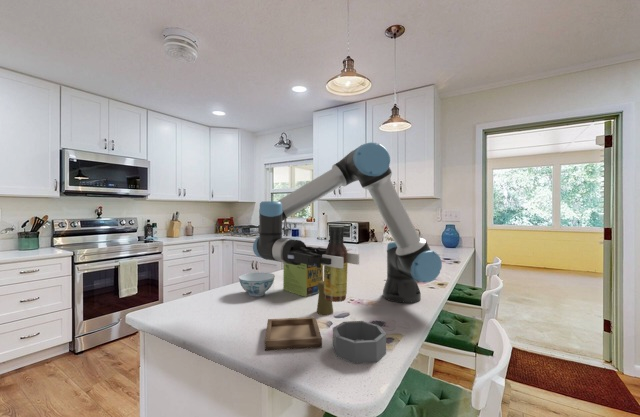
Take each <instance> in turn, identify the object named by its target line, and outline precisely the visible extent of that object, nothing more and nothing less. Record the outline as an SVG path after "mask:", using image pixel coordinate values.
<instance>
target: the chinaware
mask: <svg viewBox="0 0 640 417" xmlns="http://www.w3.org/2000/svg"><path fill="white" fill-rule="evenodd" d="M238 279H239V284H240V286H241V288H242V289H243V290H244V291H245V292H246V293H248V295H249V296H251V297H261V296H265V294H266V292H267V291H268V290H270V289H271V287H272V285H273V283H274V280H275V273H272V272H264V271H263V272H262V271H261V272H260V271H259V272H258V271H256V272H249V273H244V274H242V275H241V274H240V275H239V276H238Z"/></svg>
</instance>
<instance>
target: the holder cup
mask: <svg viewBox="0 0 640 417" xmlns="http://www.w3.org/2000/svg"><path fill="white" fill-rule="evenodd" d="M332 348H333V351H334V354H335V357H336V358H338V359H341V360H344V361H347V362H349V363H352V364H355V365H356V364H358V365H359V364H371V363H378V362H379V361H380V360H381V359H382V358H383V357H384V356H385V355H386V354H387V333H386V332H385V331H384V329H383V328H382V327H381V325H380V324H379V325H378V324H376V323H371V322H368V321H366V320H365V321H364V320H352V321H347V320H346V321H342V322H340V323H339V324H337V325H335V326H334V327H332Z"/></svg>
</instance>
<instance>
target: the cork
mask: <svg viewBox="0 0 640 417" xmlns="http://www.w3.org/2000/svg"><path fill="white" fill-rule="evenodd" d="M318 290H319V293H318V299H317V305H316V306H317V307H316V314H317V315H320V316H330V315H333V314H334V306H333V302H330V301H328V300H326V299H325V298H324V280H323V281H321V282H319V283H318Z"/></svg>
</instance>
